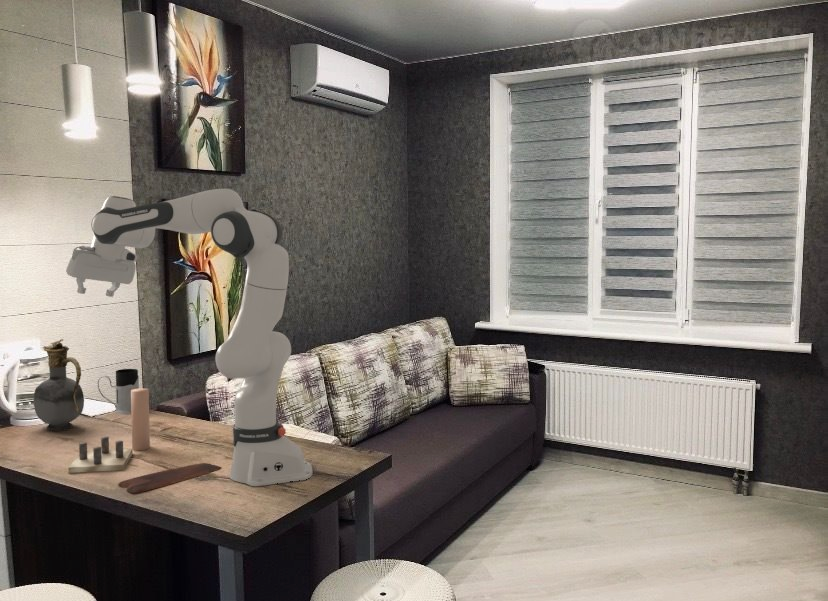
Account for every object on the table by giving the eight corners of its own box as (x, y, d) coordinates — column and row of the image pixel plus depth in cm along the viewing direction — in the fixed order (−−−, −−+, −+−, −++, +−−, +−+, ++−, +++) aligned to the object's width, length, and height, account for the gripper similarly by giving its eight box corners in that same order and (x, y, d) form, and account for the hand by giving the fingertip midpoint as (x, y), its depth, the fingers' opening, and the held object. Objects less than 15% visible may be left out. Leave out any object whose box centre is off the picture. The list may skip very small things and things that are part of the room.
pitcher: (60, 420, 239) (57, 334, 236) (96, 429, 229) (93, 339, 226) (29, 428, 229) (26, 339, 226) (66, 437, 220) (62, 344, 217)
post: (151, 445, 213) (149, 388, 212) (148, 450, 209) (147, 391, 207) (133, 446, 212) (132, 388, 211) (130, 451, 207) (129, 392, 206)
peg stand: (132, 453, 205) (131, 434, 204) (123, 469, 191) (122, 448, 191) (81, 456, 202) (80, 436, 201) (68, 472, 188) (67, 451, 188)
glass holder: (142, 412, 251) (141, 371, 249) (99, 417, 244) (98, 375, 242) (138, 407, 258) (138, 367, 257) (97, 411, 252) (96, 370, 250)
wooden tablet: (206, 457, 200) (225, 462, 193) (206, 465, 200) (225, 470, 193) (115, 481, 180) (132, 487, 173) (115, 490, 180) (133, 496, 173)
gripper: (81, 247, 192) (69, 294, 193) (142, 257, 210) (130, 300, 211) (68, 241, 196) (56, 288, 197) (129, 252, 213) (118, 294, 214)
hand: (95, 294), depth 204 cm, fingers open, 8 cm apart
